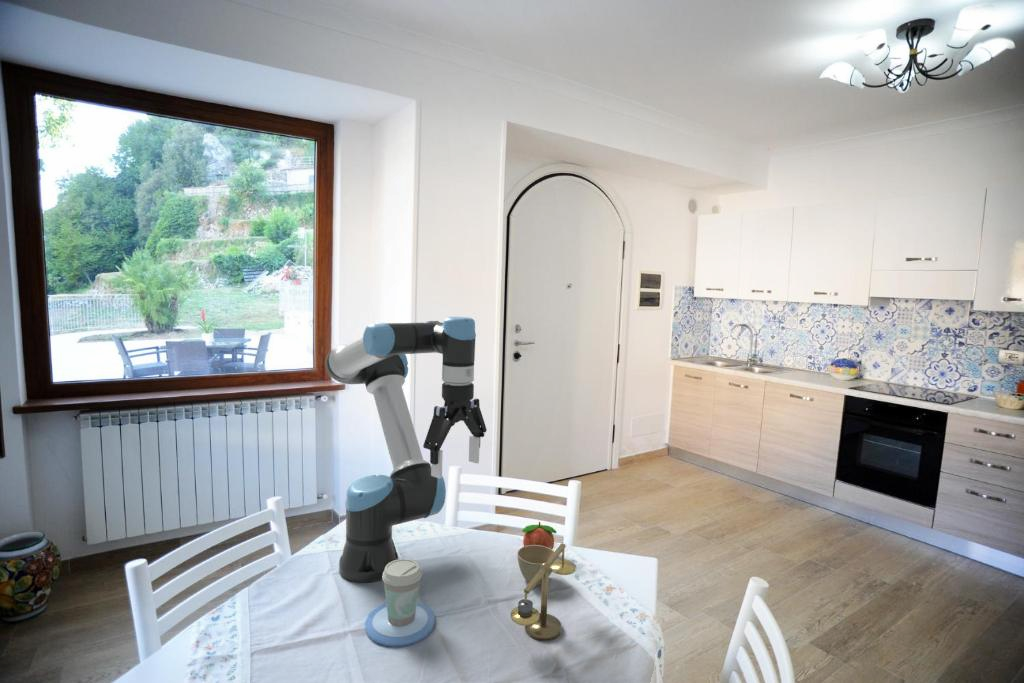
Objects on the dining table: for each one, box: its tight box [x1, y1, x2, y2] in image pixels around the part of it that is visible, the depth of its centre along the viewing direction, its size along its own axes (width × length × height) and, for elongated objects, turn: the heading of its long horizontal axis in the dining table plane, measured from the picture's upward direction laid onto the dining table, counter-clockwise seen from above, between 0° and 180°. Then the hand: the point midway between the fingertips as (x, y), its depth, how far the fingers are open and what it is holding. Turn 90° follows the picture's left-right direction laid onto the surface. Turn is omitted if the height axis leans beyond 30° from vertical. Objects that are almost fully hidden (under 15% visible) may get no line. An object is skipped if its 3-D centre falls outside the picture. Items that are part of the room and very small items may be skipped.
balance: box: [510, 542, 577, 642], centre depth 123 cm, size 8×21×17 cm, turn 145°
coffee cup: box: [381, 558, 423, 626], centre depth 123 cm, size 9×8×12 cm
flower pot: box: [516, 545, 555, 586], centre depth 143 cm, size 10×10×7 cm
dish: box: [364, 601, 435, 648], centre depth 123 cm, size 15×15×1 cm
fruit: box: [521, 521, 557, 551], centre depth 155 cm, size 9×10×10 cm
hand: (455, 469), depth 134 cm, fingers open, 13 cm apart
